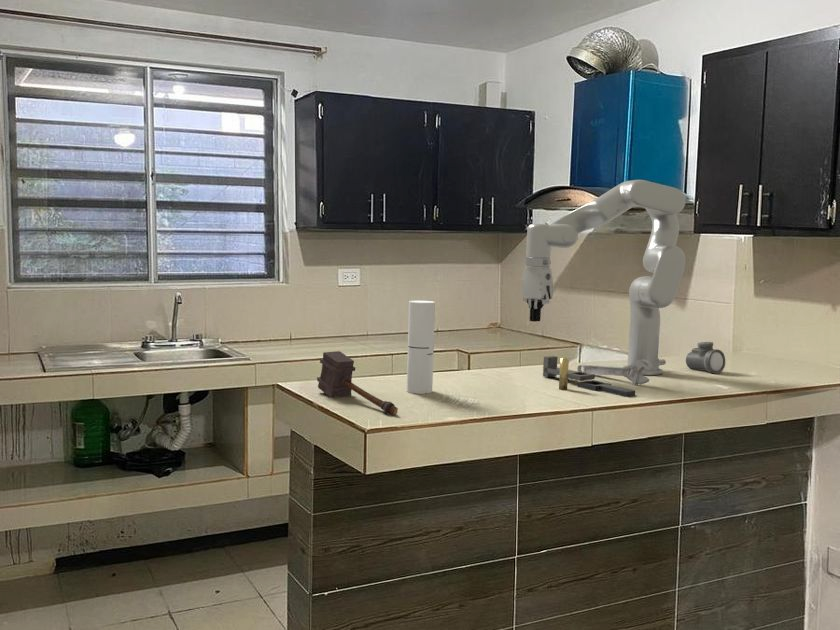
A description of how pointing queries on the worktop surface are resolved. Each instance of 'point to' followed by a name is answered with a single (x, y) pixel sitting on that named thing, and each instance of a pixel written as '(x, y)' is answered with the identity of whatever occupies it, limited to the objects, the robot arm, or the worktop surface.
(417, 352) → the cylindrical container
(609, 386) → the bar
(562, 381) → the pin
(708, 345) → the pipe fitting
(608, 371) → the wrench
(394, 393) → the worktop surface
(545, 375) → the chain end
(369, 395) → the hammer
